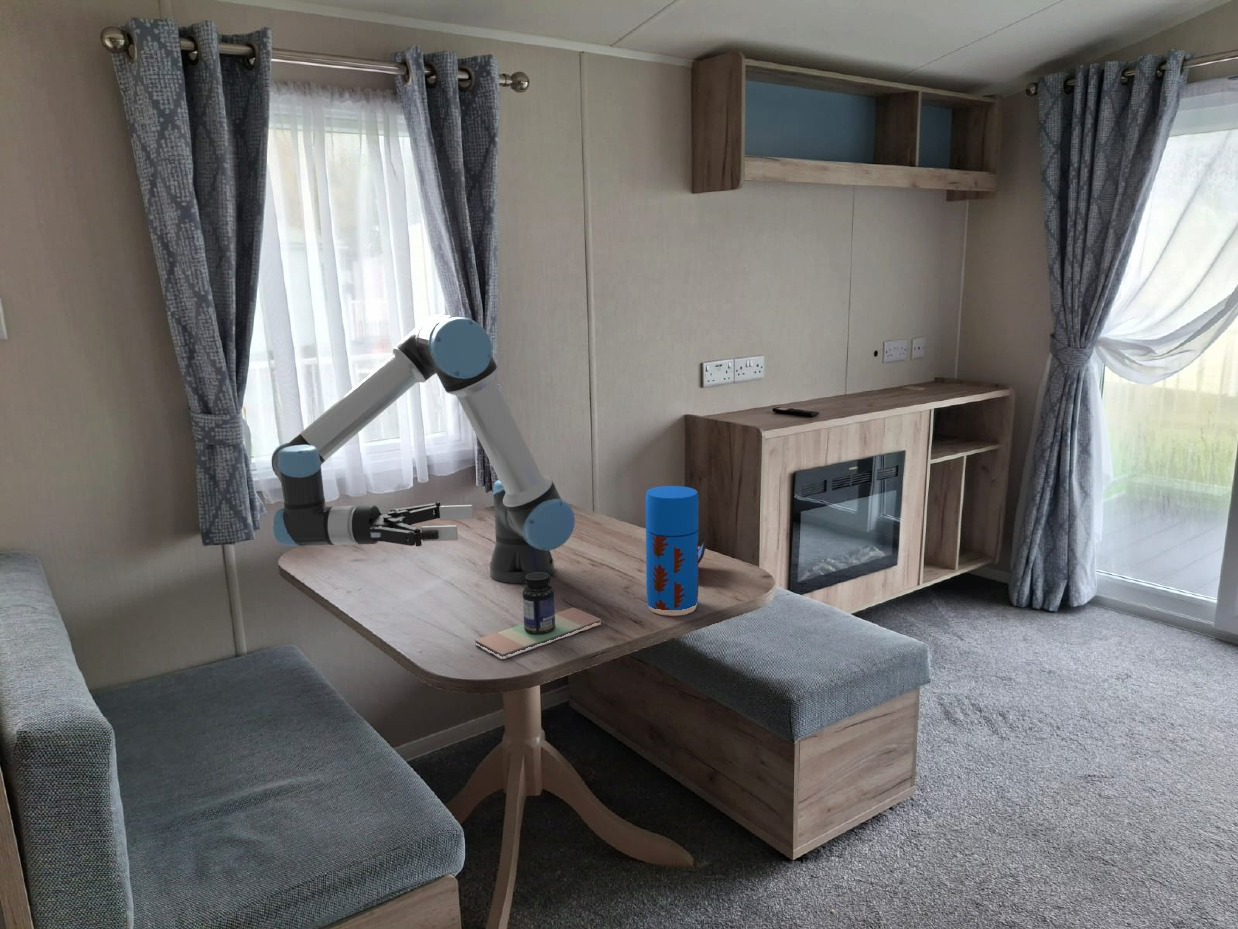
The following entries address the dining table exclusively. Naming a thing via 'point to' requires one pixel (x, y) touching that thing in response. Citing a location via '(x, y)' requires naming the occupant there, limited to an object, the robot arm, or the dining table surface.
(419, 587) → the dining table surface
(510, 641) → the gauge plate
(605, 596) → the dining table surface
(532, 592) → the pill bottle
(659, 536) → the thermos
